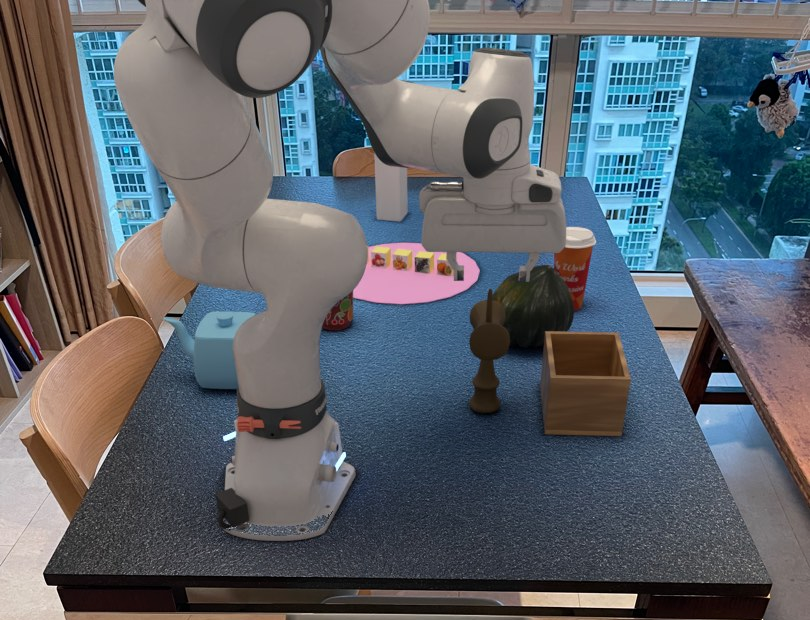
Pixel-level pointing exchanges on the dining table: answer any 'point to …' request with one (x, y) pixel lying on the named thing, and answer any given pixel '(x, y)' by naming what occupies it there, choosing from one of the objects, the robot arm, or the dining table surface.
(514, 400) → the dining table surface
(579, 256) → the paper cup
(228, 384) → the teapot
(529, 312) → the squash
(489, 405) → the kendama
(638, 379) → the dining table surface
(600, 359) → the caddy
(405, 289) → the platter
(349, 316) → the smoothie
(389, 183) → the milk
